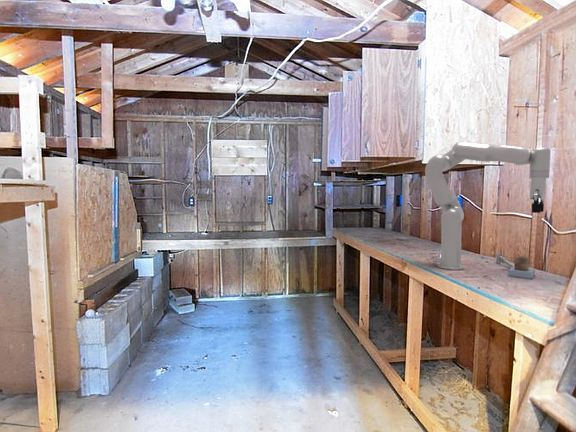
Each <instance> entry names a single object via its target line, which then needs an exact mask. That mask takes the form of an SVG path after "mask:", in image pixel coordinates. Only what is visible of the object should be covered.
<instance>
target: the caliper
mask: <svg viewBox="0 0 576 432" xmlns="http://www.w3.org/2000/svg"><path fill="white" fill-rule="evenodd" d="M495 263H496V264H498V265H501V263H502V264H505V265H507V266H508V267H510V268H511V267H514V263H512V262H510V261H508V260H507V259H506V258H505V257H503V256H502V253H500V252H497V254H496V257H495Z"/></svg>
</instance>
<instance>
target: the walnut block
mask: <svg viewBox="0 0 576 432" xmlns="http://www.w3.org/2000/svg"><path fill="white" fill-rule="evenodd" d="M513 265H514V270H520V271H528V270H529V269H530V256H525V255H524V256H523V255H522V256H521V255H515V257H514V263H513Z"/></svg>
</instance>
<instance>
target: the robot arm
mask: <svg viewBox="0 0 576 432" xmlns="http://www.w3.org/2000/svg"><path fill="white" fill-rule="evenodd" d="M465 160H468V161H476V162H485V163H486V162H487V163H489V162H500V163H508V164H514V165H516V166H524V165H525V166H526V165H529V176H528V178H529V179H531V182H530V188H529V200H532V202H531V213H533V214H534V213H535V214H540V213H543V212H544V210H545V209H544V208H545V207H544V204H545V203H544V199H546V198H545V197H546V190H547V188H546V187H547V179H550V167H551V148H550V147H536V148H535V147H534V148H532V149H527V148H525V147H522V146H511V145H500V144H499V145H498V144H491V143H490V144H489V143H488V144H487V143H479V142H469V141H459V142H456V143H454V144H453V146H452V148H451V150H449V151H447V152H446V153H444V154H436V155H434V156H432V157H431V158H429V160H428V162H427V163H426V165H425V169H424V174H425V178H426V181H427V184H428V186H429V189H430V192H431V194H432V196H433V199H434V202H435V203H436V205H438V206H440V208H441V211H442V213H441V217H440V222H441V224H440V225H441V227H440V228H441V236H440V237H441V241H440V242H441V245H440V246H441V248H440V250H441V251H440V257H439V258H438V257H433V258H432V261H433V262H435V263H437V267H438V268H440V269H444V270H451V271H452V270H453V271H455V270H456V271H460V270H464V269H465V265H464V264H462V263H461V262H462V261H461V260H462V259H461V258H462V236H463V235H462V233H463V232H462V230H463V229H462V227H463V226H462V221H463V220H464V218H465V213H464V211H463V208H462V206H461V204H460V201H459V199H458V197H457V195H456V193H455V191H454V190H452V189H450V187H449V185H448V183H447V181H446V178H445V176H444V174H443V172H447V171H448V170H450V169H452V168H453V167H455V166H458V165H459V164H461V163H462V162H464V161H465Z"/></svg>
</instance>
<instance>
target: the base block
mask: <svg viewBox="0 0 576 432" xmlns="http://www.w3.org/2000/svg"><path fill="white" fill-rule="evenodd" d="M507 271H508V274H507V277H513V278H519V279H527V280H533V279H534V277H536V274H535V269H532V268H529V270H528V271H520V270H514V267H510V268H509V269H508V270H507Z"/></svg>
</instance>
